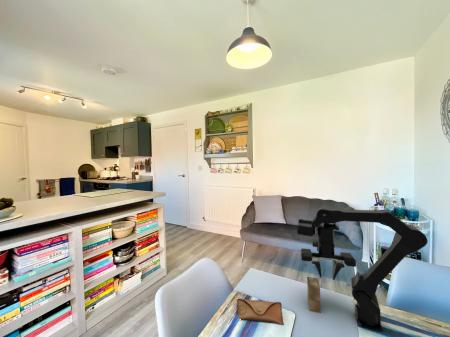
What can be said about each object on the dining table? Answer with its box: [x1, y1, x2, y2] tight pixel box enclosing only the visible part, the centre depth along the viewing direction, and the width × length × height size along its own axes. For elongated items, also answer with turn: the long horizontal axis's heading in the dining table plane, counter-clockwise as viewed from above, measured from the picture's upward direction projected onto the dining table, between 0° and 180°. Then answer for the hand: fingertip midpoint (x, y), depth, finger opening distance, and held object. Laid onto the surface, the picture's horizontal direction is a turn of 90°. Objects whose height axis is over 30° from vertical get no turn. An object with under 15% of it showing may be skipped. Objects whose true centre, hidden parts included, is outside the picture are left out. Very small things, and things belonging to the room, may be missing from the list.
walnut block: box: [306, 276, 322, 314], centre depth 76 cm, size 4×6×10 cm, turn 162°
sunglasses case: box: [236, 298, 285, 326], centre depth 73 cm, size 18×7×7 cm
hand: (326, 278), depth 75 cm, fingers open, 4 cm apart
